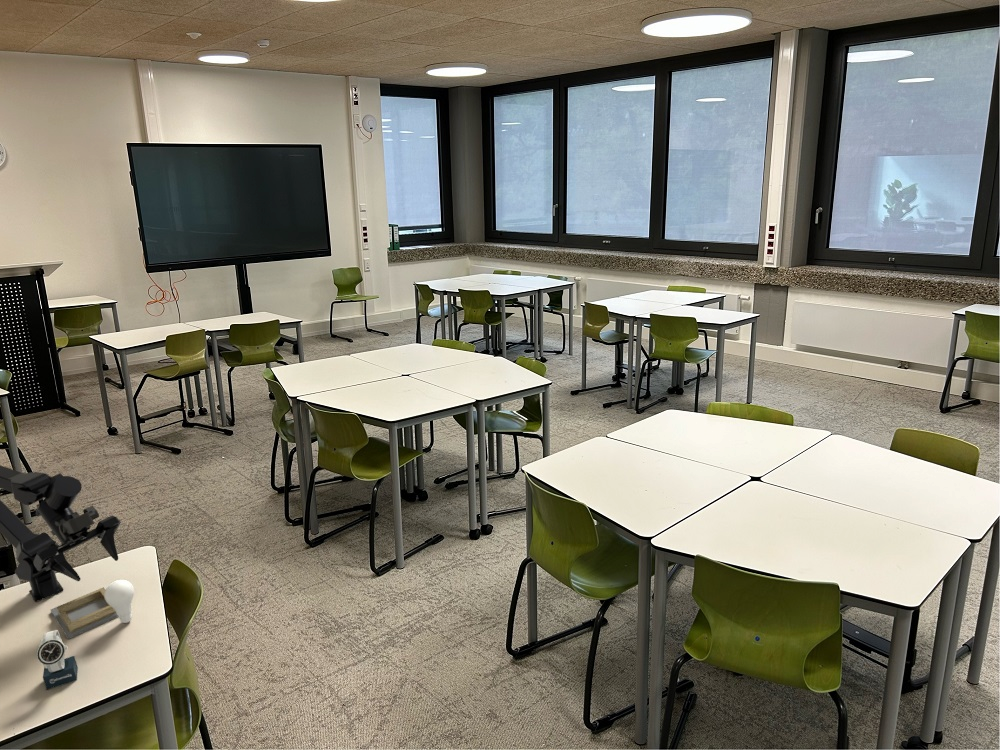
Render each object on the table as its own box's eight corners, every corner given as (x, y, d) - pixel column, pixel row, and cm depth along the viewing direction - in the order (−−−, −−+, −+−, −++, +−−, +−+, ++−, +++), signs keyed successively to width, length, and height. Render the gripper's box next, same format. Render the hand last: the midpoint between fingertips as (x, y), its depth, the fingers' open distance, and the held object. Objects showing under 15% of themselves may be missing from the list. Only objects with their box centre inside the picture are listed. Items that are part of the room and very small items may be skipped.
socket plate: (51, 612, 172) (48, 602, 171) (104, 589, 180) (101, 580, 179) (68, 639, 162) (65, 628, 161) (123, 614, 170) (121, 604, 169)
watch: (45, 695, 145) (31, 651, 141) (49, 672, 152) (35, 629, 148) (76, 685, 147) (63, 641, 144) (78, 662, 154) (66, 620, 151)
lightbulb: (129, 631, 163) (118, 590, 160) (106, 629, 164) (95, 589, 161) (146, 614, 169) (136, 575, 166) (124, 613, 170) (114, 573, 167)
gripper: (26, 520, 156) (66, 575, 154) (106, 485, 171) (144, 534, 169) (17, 543, 162) (55, 597, 160) (96, 507, 178) (132, 556, 175)
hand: (98, 569), depth 166 cm, fingers open, 9 cm apart
